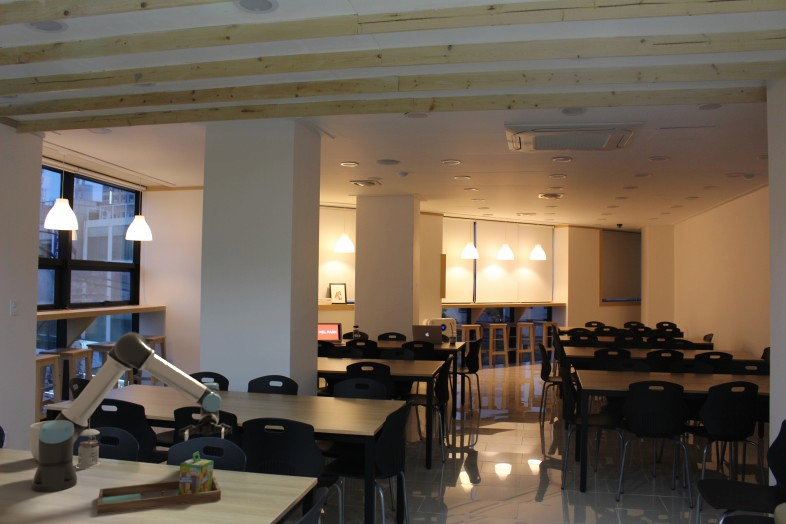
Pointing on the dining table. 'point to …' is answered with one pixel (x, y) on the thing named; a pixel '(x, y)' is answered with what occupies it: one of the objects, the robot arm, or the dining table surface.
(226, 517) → the dining table surface
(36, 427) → the planter
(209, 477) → the chalk box
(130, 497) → the mat
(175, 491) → the mats
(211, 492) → the brown wooden tray
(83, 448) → the french press
